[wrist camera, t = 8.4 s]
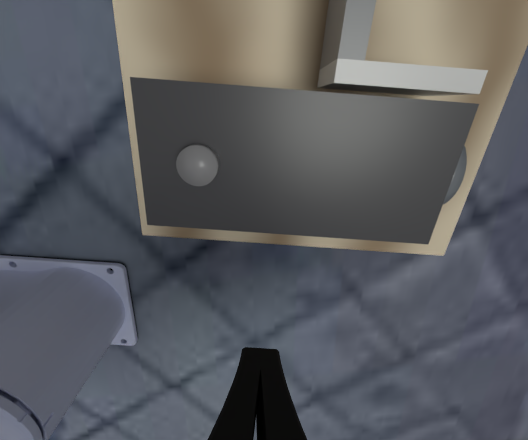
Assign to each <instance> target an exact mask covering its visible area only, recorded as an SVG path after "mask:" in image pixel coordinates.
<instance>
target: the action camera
mask: <svg viewBox="0 0 528 440" xmlns="http://www.w3.org/2000/svg"><path fill="white" fill-rule="evenodd" d="M130 83H131V92H132V100H133V109H134V117H135V125H136V134H137V142H138V151H139V159H140V168H141V176H142V185H143V193H144V202H145V210H146V219H147V225H154V226H169V227H183V228H198V229H212V230H227V231H241V232H256V233H270V234H284V235H299V236H313V237H328V238H342V239H357V240H371V241H385V242H400V243H414V244H429V241H430V239H431V236H432V233H433V230H434V228H435V225H436V222H437V219H438V216H439V214H440V211H441V208H442V205H443V204H445V203H447V202H448V201H449V200H450V199H451V198H452V197H453V196H454V195H455V194H456V192H457V191H458V189H459V187H460V186H461V183H462V181H463V178H464V175H465V171H466V165H467V154H466V148H465V142H466V139H467V137H468V134H469V131H470V128H471V126H472V123H473V120H474V117H475V114H476V112H477V109H478V106H479V104H475V103H462V102H449V101H437V100H424V99H411V98H398V97H385V96H372V95H359V94H346V93H333V92H320V91H307V90H294V89H281V88H268V87H255V86H242V85H229V84H216V83H203V82H190V81H177V80H164V79H151V78H138V77H130Z"/></svg>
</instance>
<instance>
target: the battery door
mask: <svg viewBox="0 0 528 440" xmlns="http://www.w3.org/2000/svg"><path fill="white" fill-rule="evenodd" d="M375 4H376V0H329V4H328V11H327V18H326V26H325V33H324V41H323V48H322V56H321V63H320V70H319V78H318V85H317V88H325V89H338V90H351V91H364V92H377V93H390V94H403V95H416V96H445V95H470V94H480V91H481V89H482V86H483V83H484V80H485V78H486V75H487V72H488V70H478V69H466V68H453V67H440V66H428V65H415V64H402V63H390V62H377V61H365V57H366V51H367V46H368V41H369V36H370V31H371V25H372V20H373V15H374V10H375Z"/></svg>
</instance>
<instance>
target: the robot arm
mask: <svg viewBox="0 0 528 440" xmlns="http://www.w3.org/2000/svg"><path fill="white" fill-rule="evenodd" d="M110 268H111V269H113V271H112V270H110ZM137 340H138V338H137V332H136V326H135V319H134V313H133V307H132V301H131V295H130V289H129V283H128V277H127V271H126V268H125V266H124V265H122V264H120V263H108V262H93V261H79V260H64V259H49V258H34V257H19V256H4V255H0V440H48V439H49V437H50V436H51V434H52V433H53V431H54V430H55V428H56V426H57V425H58V423H59V422H60V420H61V419H62V417H63V416H64V414H65V413H66V411H67V410H68V408H69V407H70V405H71V404H72V402H73V401H74V399H75V397H76V396H77V394H78V393H79V391H80V390H81V388H82V387H83V385H84V384H85V382H86V381H87V379H88V378H89V376H90V375H91V373H92V371H93V370H94V368H95V367H96V365H97V364H98V362H99V361H100V359H101V358H102V356H103V355H104V353H105V352H106V350H107V349H108V347H109V346H110V344H112V345H128V346H132V345H135V344H136V342H137ZM255 420H256V422H257V440H307V438H306V436H305V433H304V431H303V428H302V426H301V423H300V421H299V418H298V416H297V413H296V410H295V407H294V404H293V402H292V399H291V396H290V393H289V390H288V387H287V383H286V380H285V377H284V373H283V369H282V365H281V360H280V355H279V351H278V350H277V349H264V348H248V347H245V348H243V349H242V353H241V358H240V362H239V366H238V369H237V372H236V375H235V378H234V381H233V383H232V386H231V388H230V391H229V393H228V396H227V398H226V401H225V403H224V406H223V408H222V410H221V412H220V415H219V417H218V419H217V421H216V423H215V425H214V427H213V430H212V432H211V434H210V436H209V438H208V440H253V437H254V429H255Z"/></svg>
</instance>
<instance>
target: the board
mask: <svg viewBox="0 0 528 440" xmlns="http://www.w3.org/2000/svg"><path fill="white" fill-rule="evenodd" d="M112 2H113V9H114V17H115V25H116V33H117V41H118V48H119V56H120V64H121V72H122V80H123V87H124V95H125V103H126V111H127V119H128V126H129V134H130V142H131V150H132V158H133V165H134V173H135V181H136V189H137V197H138V204H139V212H140V220H141V228H142V235H150V236H165V237H179V238H194V239H209V240H223V241H238V242H252V243H267V244H281V245H296V246H310V247H325V248H340V249H354V250H369V251H383V252H398V253H412V254H427V255H441V256H444V254H445V251H446V249H447V246H448V244H449V241H450V239H451V236H452V234H453V231H454V229H455V226H456V224H457V221H458V219H459V216H460V214H461V211H462V209H463V206H464V203H465V201H466V198H467V196H468V193H469V191H470V188H471V186H472V183H473V181H474V178H475V176H476V173H477V171H478V168H479V166H480V163H481V161H482V158H483V156H484V153H485V151H486V148H487V146H488V143H489V141H490V138H491V135H492V133H493V130H494V128H495V125H496V123H497V120H498V118H499V115H500V113H501V110H502V108H503V105H504V103H505V100H506V98H507V95H508V93H509V90H510V88H511V85H512V83H513V80H514V78H515V75H516V72H517V70H518V67H519V65H520V62H521V60H522V57H523V55H524V52H525V50H526V47H527V45H528V0H376V4H375V10H374V15H373V20H372V25H371V31H370V36H369V41H368V46H367V51H366V57H365V61H377V62H390V63H402V64H415V65H428V66H440V67H453V68H466V69H478V70H488V72H487V75H486V78H485V80H484V83H483V86H482V89H481V91H480V94H470V95H445V96H416V95H403V94H390V93H377V92H364V91H351V90H338V89H325V88H317V85H318V78H319V70H320V63H321V56H322V48H323V41H324V33H325V26H326V18H327V11H328V4H329V0H112ZM130 77H138V78H151V79H164V80H177V81H190V82H203V83H216V84H229V85H242V86H255V87H268V88H281V89H294V90H307V91H320V92H333V93H346V94H359V95H372V96H385V97H398V98H411V99H424V100H437V101H449V102H462V103H475V104H479V106H478V109H477V112H476V114H475V117H474V120H473V123H472V126H471V128H470V131H469V134H468V137H467V139H466V142H465V148H466V154H467V165H466V171H465V175H464V178H463V181H462V183H461V186H460V187H459V189H458V191H457V192H456V194H455V195H454V196H453V197H452V198H451V199H450V200H449V201H448V202H447V203H445V204H443V205H442V208H441V211H440V214H439V216H438V219H437V222H436V225H435V228H434V230H433V233H432V236H431V239H430V241H429V244H414V243H400V242H385V241H371V240H357V239H342V238H328V237H313V236H299V235H284V234H270V233H256V232H241V231H227V230H212V229H198V228H183V227H169V226H154V225H147V219H146V210H145V202H144V193H143V185H142V176H141V168H140V159H139V151H138V142H137V134H136V125H135V117H134V109H133V100H132V92H131V83H130Z"/></svg>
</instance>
